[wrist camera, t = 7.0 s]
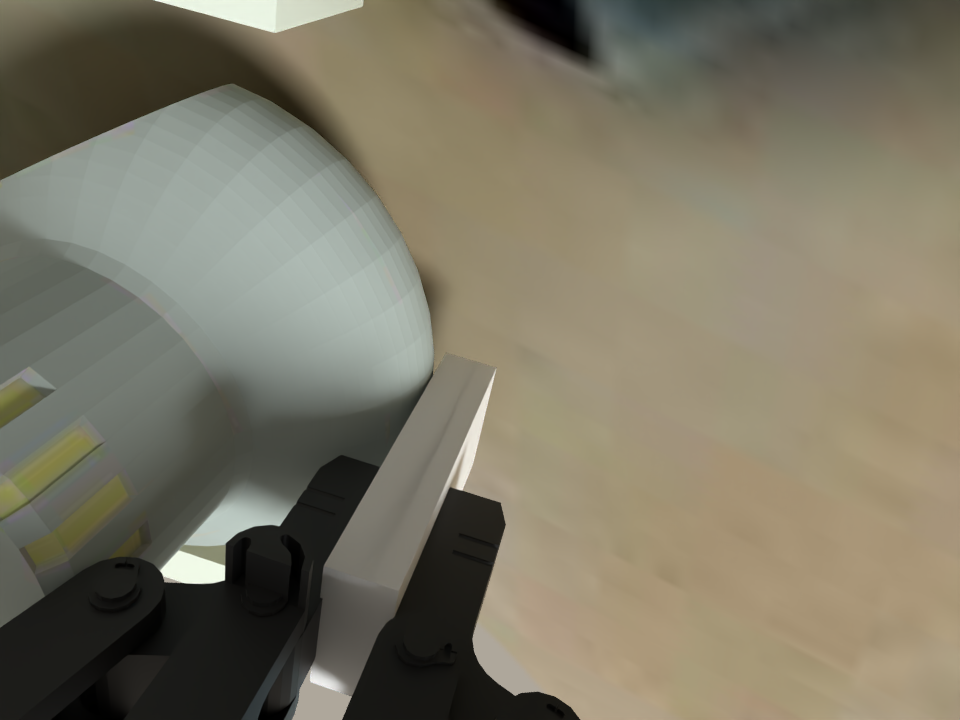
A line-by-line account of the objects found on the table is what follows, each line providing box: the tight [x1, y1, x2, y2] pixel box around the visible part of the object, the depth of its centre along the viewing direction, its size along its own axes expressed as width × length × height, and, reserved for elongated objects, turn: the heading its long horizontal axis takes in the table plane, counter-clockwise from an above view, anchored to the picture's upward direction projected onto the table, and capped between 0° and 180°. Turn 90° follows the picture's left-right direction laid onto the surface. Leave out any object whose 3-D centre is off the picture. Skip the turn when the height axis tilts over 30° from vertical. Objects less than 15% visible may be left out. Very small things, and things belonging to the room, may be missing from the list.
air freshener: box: [0, 84, 434, 627], centre depth 15 cm, size 11×8×10 cm
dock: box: [155, 0, 363, 584], centre depth 18 cm, size 15×12×4 cm
